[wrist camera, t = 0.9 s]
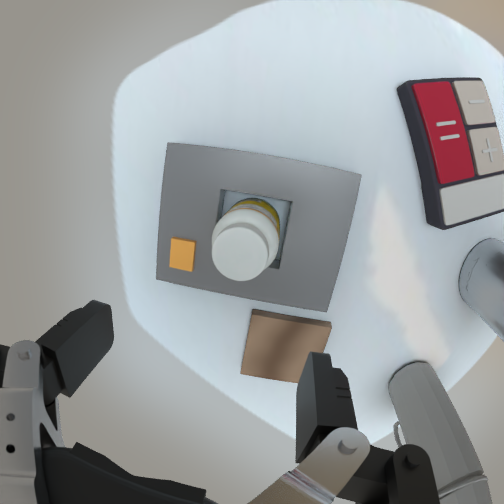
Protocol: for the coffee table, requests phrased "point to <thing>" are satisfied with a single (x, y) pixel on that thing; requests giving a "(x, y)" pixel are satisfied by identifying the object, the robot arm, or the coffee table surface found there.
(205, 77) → the coffee table surface
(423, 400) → the water bottle
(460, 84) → the calculator
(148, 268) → the coffee table surface
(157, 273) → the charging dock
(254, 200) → the supplement bottle
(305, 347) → the coaster pad
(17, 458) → the robot arm
